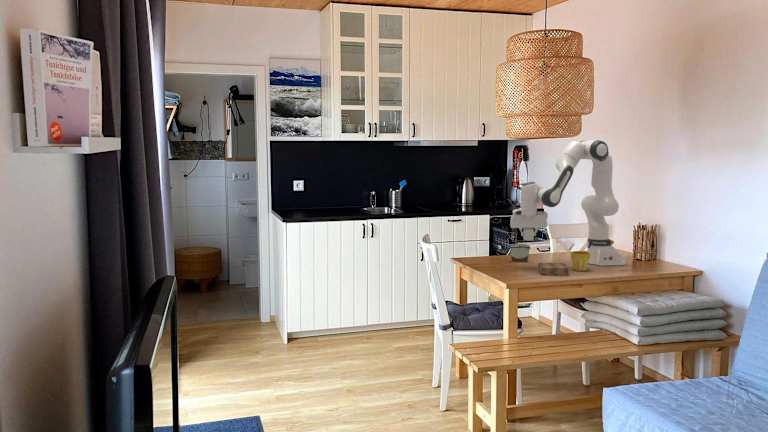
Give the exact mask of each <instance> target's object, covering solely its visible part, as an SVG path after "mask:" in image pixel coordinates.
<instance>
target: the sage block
mask: <svg viewBox="0 0 768 432" xmlns="http://www.w3.org/2000/svg"><path fill="white" fill-rule="evenodd" d="M523 232H524V236H522V237H523V240H524V241H534V240H535V239H534V237H535V236H534V232H535V228H523Z"/></svg>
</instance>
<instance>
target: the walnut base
mask: <svg viewBox="0 0 768 432" xmlns="http://www.w3.org/2000/svg"><path fill="white" fill-rule="evenodd" d="M537 271H538V273H539V274H540V276H557V275H562V277H563V276H565V277H567V276H569V267H568V266H567V265H566V263H564V262H538V263H537Z"/></svg>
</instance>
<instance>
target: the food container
mask: <svg viewBox="0 0 768 432" xmlns="http://www.w3.org/2000/svg"><path fill="white" fill-rule="evenodd" d="M508 249H510V250H509V251H510V260H511V261H510V262H511V263H529V257H530V256H529V255H530V254H529V253H530V250H531V246H530V244H525V243H514V244H510V245H509V247H508Z"/></svg>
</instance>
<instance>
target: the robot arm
mask: <svg viewBox="0 0 768 432" xmlns="http://www.w3.org/2000/svg"><path fill="white" fill-rule="evenodd" d="M581 160H590V161H591V163H592V170H591V182H590V184H591V187H592V188H593V189H594V193H595V194H590V195H586V196H584V197H583V198H582V200H581V205H580V207H581V208H582V210H583V212H584V213H585V215H586V219H587V223H588V237H587V243H586V244H587V245H586V246H587V251H586V252H590V259H589V262H588V265H589V264H591V265H596V266H602V267H604V266H626V265H627V261H625V260H623V258H622V253H621V252H620V251H619V250H618V249H617V248H615V247H614V246H613V245H614V244H615V241H614V240H611V239H610V238H609V235H610V233H609V231H610V230H609V229H610V227H609V224H608V222H607V221H606V218H605V217H610V216H615V214H617V212H619V208H620V207H619V202H618V201H617V199H616V198H615V194H614V191H613V183H612V182H613V169H614V167H613V158H612V155H611V154H610V151H609V147H608V144H607V143H606V142H605V141H603V140H600V139H589V140H588V139H587V140H581V141H578V140H572V141H570V142H569V143H568V144H567V145H566V146H565V147H564V149H563V150H562V151H561V152H560V154H559V156H558V157H557V159H556V160H555V167H556V170H557V171H558V172H559V175H558V176H557V178H556V180H555V182H554V184H553V185H552V186H551V187H549V188H548V187H544V186H542V185H539V184H538V183H536V182H535V181H529V182H524V183H523V184H522V186H521V187H520V188H521V190H520V201H521V203H520V208H515V209H513V210H512V215H511V217H510V223H509V226H510V228H511V229H519V231H520V235H521V237H523V236H524V231H522V230H523V229H524V228H533V229H534V237H536V236H537V233H538V230H539V229H546V228H547V227H548V220H547V219H548V216H549V214H548V213H547V212H546V211H544V210H542V211H540V210H538V205H541V206H546V207H549V208H555V207H557V206H558V205H559V204H560V202H561V200H562V196H563V193H564V191H565V189H566V187H567V185H568V184H569V182H570V180H571V178H572V177H573V175H574V172H575V171H574V170H575V169H576V167H577V166H578V164H579V163H580V161H581Z"/></svg>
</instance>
